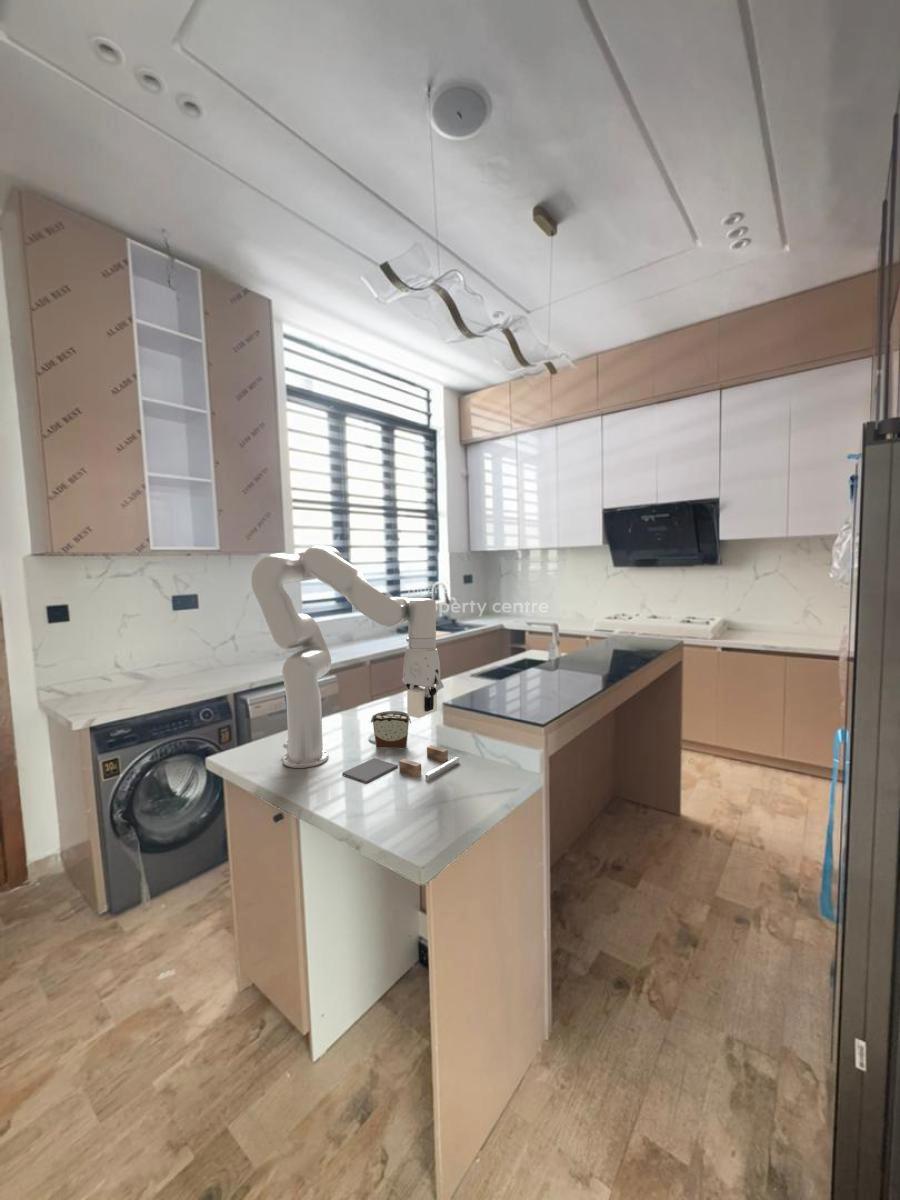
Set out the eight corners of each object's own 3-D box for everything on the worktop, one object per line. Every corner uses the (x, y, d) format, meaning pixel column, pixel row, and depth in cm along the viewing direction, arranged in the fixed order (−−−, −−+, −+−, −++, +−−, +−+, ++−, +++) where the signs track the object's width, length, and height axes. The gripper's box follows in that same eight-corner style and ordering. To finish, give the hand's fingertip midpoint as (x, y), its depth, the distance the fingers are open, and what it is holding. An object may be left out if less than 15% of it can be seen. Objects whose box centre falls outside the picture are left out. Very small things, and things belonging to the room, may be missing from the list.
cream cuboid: (407, 715, 133) (407, 690, 133) (425, 708, 140) (425, 684, 139) (418, 718, 131) (418, 692, 130) (436, 710, 138) (436, 686, 137)
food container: (414, 741, 155) (413, 710, 154) (411, 749, 149) (410, 716, 148) (376, 740, 156) (375, 710, 156) (371, 748, 150) (370, 716, 149)
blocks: (399, 771, 133) (399, 761, 132) (431, 755, 144) (431, 745, 144) (428, 781, 127) (428, 769, 127) (459, 762, 138) (459, 752, 138)
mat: (342, 774, 131) (342, 772, 131) (374, 759, 141) (374, 757, 141) (366, 783, 126) (366, 781, 126) (397, 767, 136) (397, 765, 136)
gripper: (390, 642, 136) (390, 706, 137) (438, 648, 126) (438, 718, 127) (407, 638, 142) (408, 700, 143) (455, 644, 132) (454, 710, 134)
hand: (422, 708), depth 135 cm, fingers closed on cream cuboid, 4 cm apart
